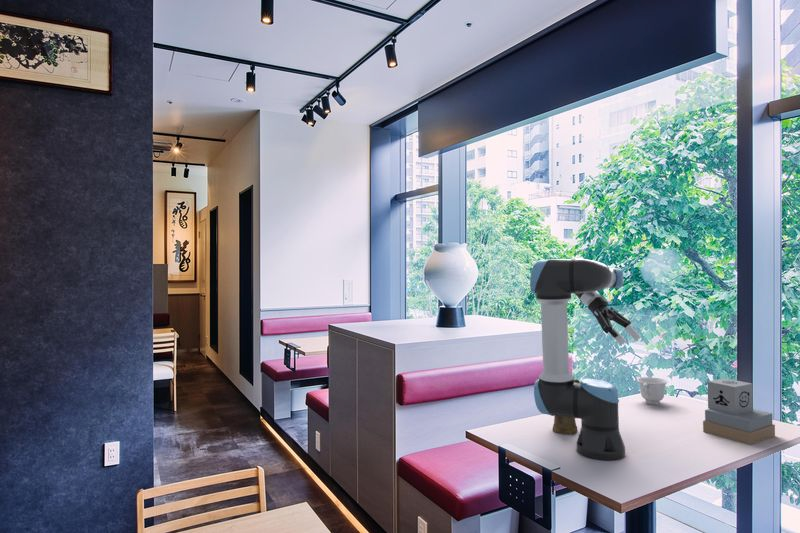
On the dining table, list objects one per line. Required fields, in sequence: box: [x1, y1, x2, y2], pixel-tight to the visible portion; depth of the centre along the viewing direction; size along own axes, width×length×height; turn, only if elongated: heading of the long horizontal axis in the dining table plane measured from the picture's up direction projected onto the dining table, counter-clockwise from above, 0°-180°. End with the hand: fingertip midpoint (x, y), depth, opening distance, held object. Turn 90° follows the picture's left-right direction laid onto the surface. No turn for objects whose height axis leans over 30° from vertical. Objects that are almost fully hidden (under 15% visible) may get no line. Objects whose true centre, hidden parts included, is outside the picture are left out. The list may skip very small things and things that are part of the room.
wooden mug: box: [552, 379, 581, 435], centre depth 192 cm, size 9×14×18 cm, turn 128°
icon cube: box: [706, 377, 754, 415], centre depth 185 cm, size 10×10×10 cm
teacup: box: [636, 376, 668, 405], centre depth 223 cm, size 12×15×10 cm
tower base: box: [702, 408, 776, 446], centre depth 182 cm, size 16×16×8 cm
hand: (631, 341), depth 199 cm, fingers open, 13 cm apart
